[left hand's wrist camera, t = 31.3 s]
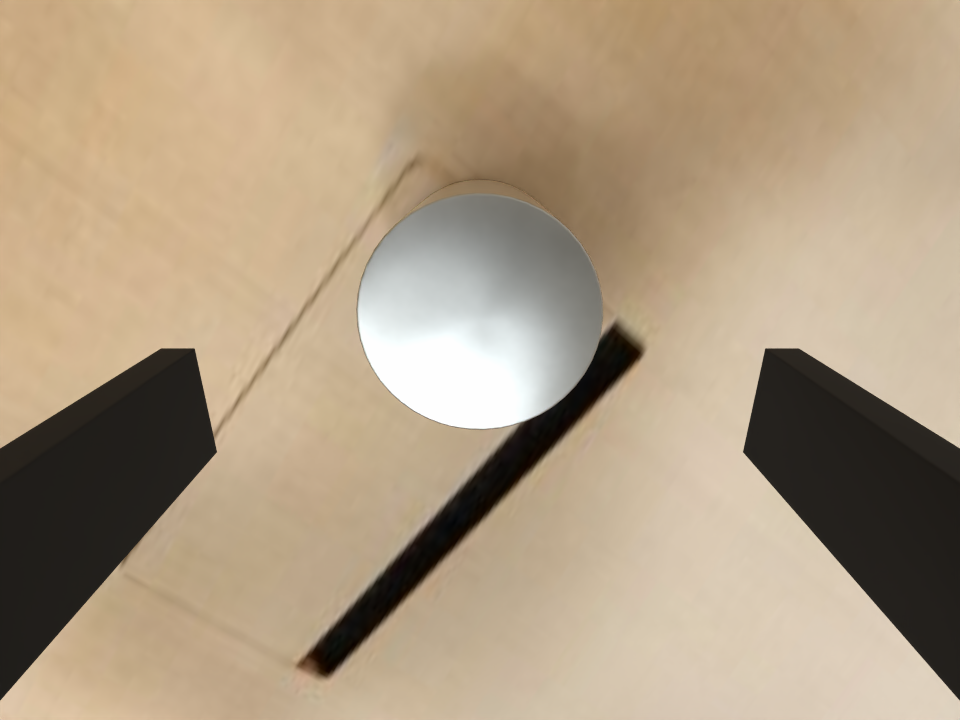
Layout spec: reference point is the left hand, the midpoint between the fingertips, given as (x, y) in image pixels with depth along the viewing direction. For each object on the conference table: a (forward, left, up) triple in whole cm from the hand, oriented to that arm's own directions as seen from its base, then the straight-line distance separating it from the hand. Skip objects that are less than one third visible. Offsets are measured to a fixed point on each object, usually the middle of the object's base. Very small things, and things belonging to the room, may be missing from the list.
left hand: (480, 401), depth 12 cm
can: (0, 0, -15) cm, 15 cm away
